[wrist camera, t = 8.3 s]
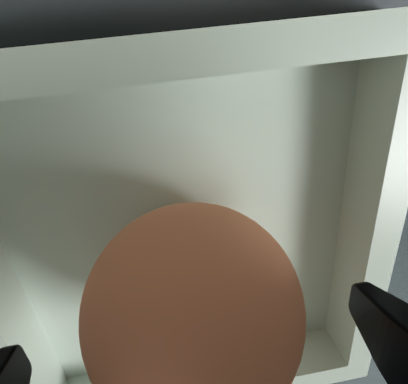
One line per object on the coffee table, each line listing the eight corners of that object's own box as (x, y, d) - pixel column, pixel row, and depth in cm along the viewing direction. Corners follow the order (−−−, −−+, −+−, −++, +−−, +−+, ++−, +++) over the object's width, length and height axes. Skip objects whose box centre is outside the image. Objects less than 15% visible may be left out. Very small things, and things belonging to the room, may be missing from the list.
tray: (336, 328, 16) (366, 376, 13) (55, 382, 14) (36, 444, 12) (385, 11, 9) (458, 1, 7) (-112, 62, 8) (-214, 70, 6)
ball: (263, 291, 13) (340, 468, 8) (119, 317, 12) (93, 527, 7) (262, 157, 10) (383, 286, 5) (78, 184, 10) (-15, 360, 4)
